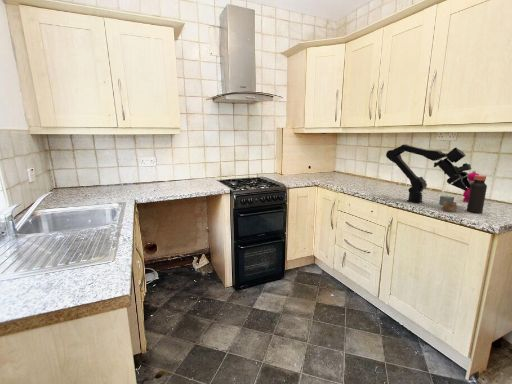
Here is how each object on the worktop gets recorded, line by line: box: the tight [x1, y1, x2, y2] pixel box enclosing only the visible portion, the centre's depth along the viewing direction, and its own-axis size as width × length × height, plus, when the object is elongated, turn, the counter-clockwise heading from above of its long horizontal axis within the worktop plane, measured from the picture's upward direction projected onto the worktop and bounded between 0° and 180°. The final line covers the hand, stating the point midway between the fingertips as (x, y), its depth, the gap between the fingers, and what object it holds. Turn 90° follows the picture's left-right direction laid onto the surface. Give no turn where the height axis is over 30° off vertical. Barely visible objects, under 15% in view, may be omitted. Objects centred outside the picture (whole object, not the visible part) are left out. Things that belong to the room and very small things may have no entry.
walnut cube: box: [442, 201, 457, 214], centre depth 148 cm, size 5×5×5 cm
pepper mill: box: [462, 169, 480, 203], centre depth 166 cm, size 7×7×20 cm
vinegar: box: [466, 174, 488, 214], centre depth 144 cm, size 7×7×20 cm
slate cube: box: [438, 195, 455, 206], centre depth 161 cm, size 5×5×5 cm
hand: (469, 189), depth 147 cm, fingers open, 9 cm apart
